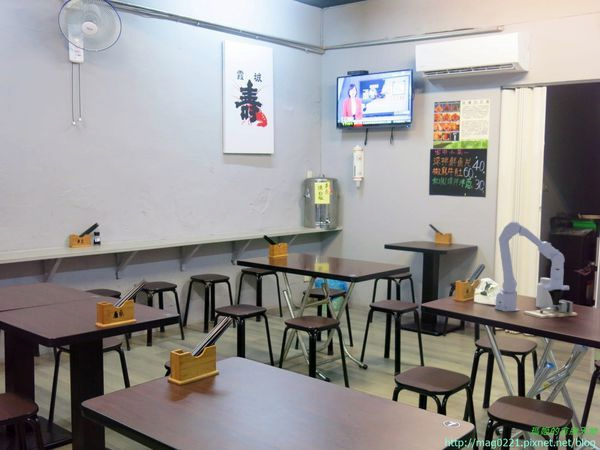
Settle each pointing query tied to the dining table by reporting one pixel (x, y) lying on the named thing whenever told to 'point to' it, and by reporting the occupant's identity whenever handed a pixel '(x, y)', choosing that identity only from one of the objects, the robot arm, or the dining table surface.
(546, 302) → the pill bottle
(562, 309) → the grey block with hole
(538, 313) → the bolt board
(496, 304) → the robot arm
